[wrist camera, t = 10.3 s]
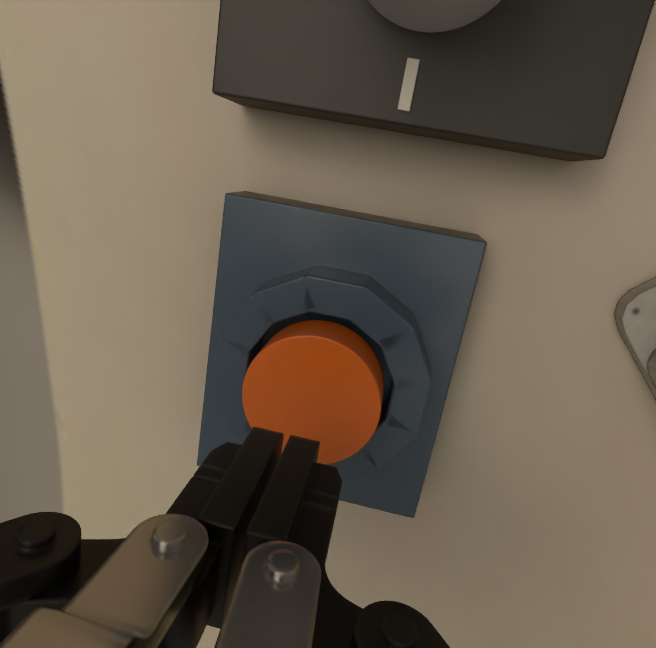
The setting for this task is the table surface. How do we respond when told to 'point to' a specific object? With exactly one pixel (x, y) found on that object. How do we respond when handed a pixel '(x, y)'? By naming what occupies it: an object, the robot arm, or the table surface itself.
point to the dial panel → (440, 70)
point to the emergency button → (640, 328)
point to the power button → (316, 388)
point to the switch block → (344, 323)
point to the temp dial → (432, 13)
